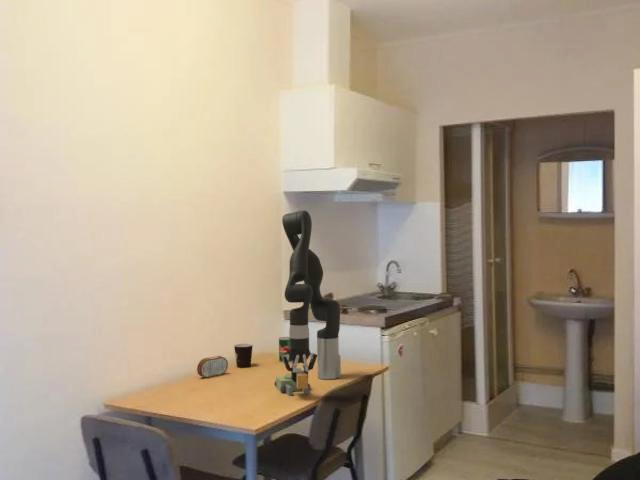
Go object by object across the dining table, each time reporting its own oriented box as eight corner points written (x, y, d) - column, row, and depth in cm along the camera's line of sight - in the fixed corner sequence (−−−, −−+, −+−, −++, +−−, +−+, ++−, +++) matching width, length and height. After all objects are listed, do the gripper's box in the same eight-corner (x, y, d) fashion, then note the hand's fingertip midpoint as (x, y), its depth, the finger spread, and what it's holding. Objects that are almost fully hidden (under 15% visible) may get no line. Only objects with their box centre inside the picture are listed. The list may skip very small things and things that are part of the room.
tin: (225, 372, 302) (224, 354, 301) (229, 373, 299) (228, 355, 299) (196, 378, 291) (196, 359, 291) (201, 379, 289) (200, 360, 289)
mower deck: (302, 384, 276) (302, 371, 276) (313, 393, 261) (313, 379, 261) (274, 387, 272) (274, 373, 272) (284, 396, 258) (283, 381, 257)
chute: (300, 380, 263) (300, 367, 262) (307, 388, 253) (307, 374, 253) (291, 381, 262) (291, 368, 261) (298, 388, 252) (298, 375, 252)
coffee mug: (251, 368, 310) (251, 346, 310) (233, 368, 310) (232, 347, 310) (254, 363, 321) (254, 342, 321) (236, 363, 322) (236, 342, 321)
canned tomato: (277, 362, 323) (277, 339, 323) (281, 358, 331) (280, 336, 330) (293, 362, 322) (293, 339, 321) (296, 359, 329) (296, 336, 329)
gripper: (314, 333, 262) (314, 377, 262) (278, 336, 258) (279, 380, 258) (319, 336, 255) (320, 382, 255) (283, 338, 250) (284, 385, 251)
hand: (299, 381), depth 256 cm, fingers closed on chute, 3 cm apart
